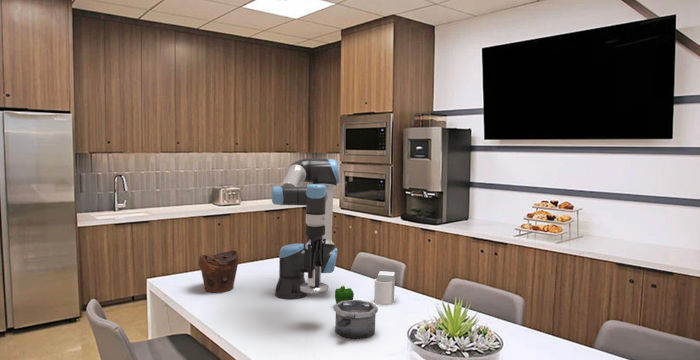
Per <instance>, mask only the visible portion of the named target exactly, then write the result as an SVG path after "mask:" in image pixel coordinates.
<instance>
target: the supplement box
mask: <svg viewBox="0 0 700 360" xmlns="http://www.w3.org/2000/svg"><path fill="white" fill-rule="evenodd" d="M377 278H378V282H384V283H386V282H392V301H391V303H392V304H393V302H394V299H395V288H396V287H395V285H396V283H395V282H396V281H395V280H396V279H395V278H396V271H395V272H394V271H383V270H382V271H381V270H380V271H379V272H378V274H377Z"/></svg>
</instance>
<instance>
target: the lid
mask: <svg viewBox="0 0 700 360" xmlns="http://www.w3.org/2000/svg"><path fill="white" fill-rule="evenodd" d="M314 269H315V286H314V287H312V286H308V282H306V283H304V284H302V285H300V291H302V292H304V293H308V294H311V295H318V294H325V293H326V292H328V291H329V289H330V288H329V287H330V286H329V284H327V283H326V282H325V283H324V282H321V283H320V266H319V265H314Z"/></svg>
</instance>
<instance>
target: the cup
mask: <svg viewBox="0 0 700 360" xmlns="http://www.w3.org/2000/svg"><path fill="white" fill-rule="evenodd" d="M373 294H374V295H373V296H374V297H373V301H374V304H375V305H380V306H389V305H392V304H393V303H391V301H392V282H386V283H384V282H378V277H377V278H375V279H374V293H373Z"/></svg>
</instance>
